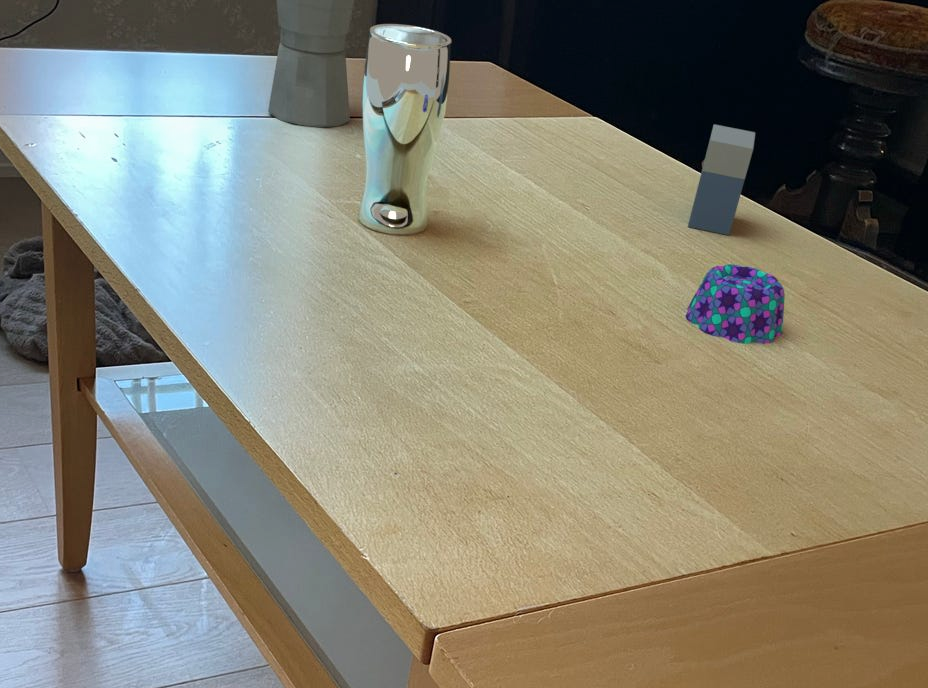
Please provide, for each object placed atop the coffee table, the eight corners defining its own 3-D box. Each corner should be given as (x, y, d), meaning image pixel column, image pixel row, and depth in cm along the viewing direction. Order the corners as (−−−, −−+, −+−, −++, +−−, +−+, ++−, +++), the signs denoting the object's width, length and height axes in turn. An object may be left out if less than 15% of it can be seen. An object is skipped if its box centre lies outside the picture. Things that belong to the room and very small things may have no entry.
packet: (731, 216, 115) (755, 132, 110) (729, 235, 110) (753, 148, 105) (692, 208, 115) (713, 124, 110) (687, 227, 111) (710, 139, 106)
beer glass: (339, 209, 102) (352, 21, 93) (410, 206, 105) (429, 24, 96) (373, 239, 98) (390, 44, 88) (445, 235, 101) (469, 46, 91)
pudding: (666, 298, 96) (682, 235, 92) (810, 334, 93) (832, 271, 90) (637, 351, 86) (653, 283, 83) (795, 393, 84) (819, 324, 81)
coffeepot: (374, 133, 121) (390, -65, 110) (290, 134, 117) (298, -71, 106) (319, 91, 132) (328, -94, 120) (239, 90, 128) (242, -101, 116)
